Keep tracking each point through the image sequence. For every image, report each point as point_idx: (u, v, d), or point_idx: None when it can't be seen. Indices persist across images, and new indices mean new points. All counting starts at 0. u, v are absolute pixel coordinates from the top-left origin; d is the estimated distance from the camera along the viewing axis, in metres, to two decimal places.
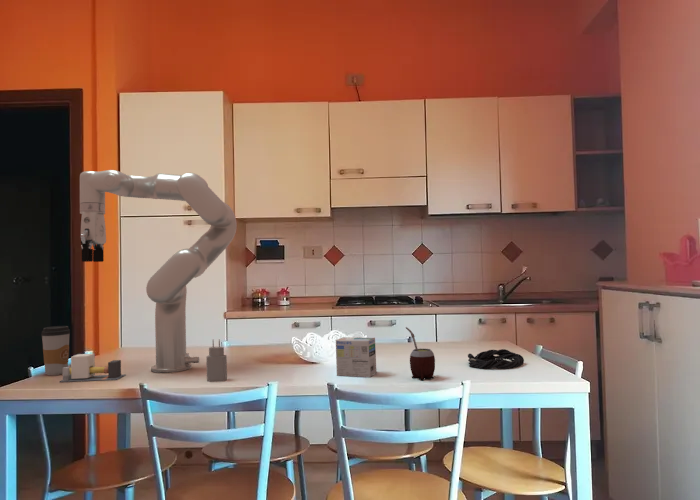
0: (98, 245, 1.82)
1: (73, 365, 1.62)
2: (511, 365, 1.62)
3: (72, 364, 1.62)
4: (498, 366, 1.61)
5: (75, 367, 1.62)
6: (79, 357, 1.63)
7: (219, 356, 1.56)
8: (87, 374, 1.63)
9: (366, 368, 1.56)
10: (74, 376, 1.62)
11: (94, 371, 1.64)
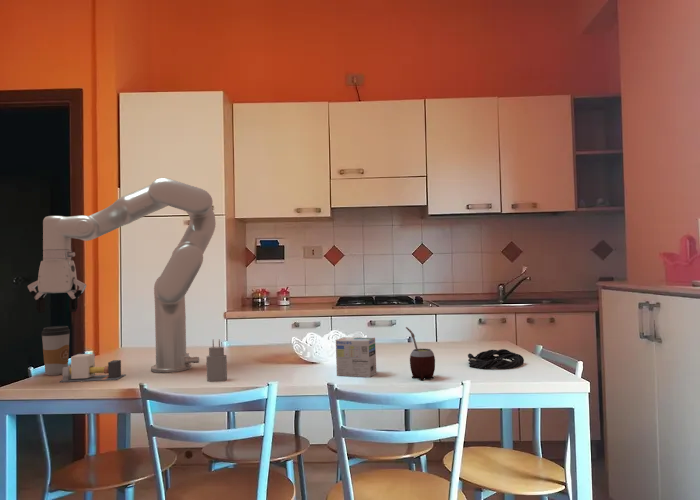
0: None
1: (73, 365, 1.62)
2: (511, 365, 1.62)
3: (72, 364, 1.62)
4: (498, 366, 1.61)
5: (75, 367, 1.62)
6: (79, 357, 1.63)
7: (219, 356, 1.56)
8: (87, 374, 1.63)
9: (366, 368, 1.56)
10: (74, 376, 1.62)
11: (94, 371, 1.64)
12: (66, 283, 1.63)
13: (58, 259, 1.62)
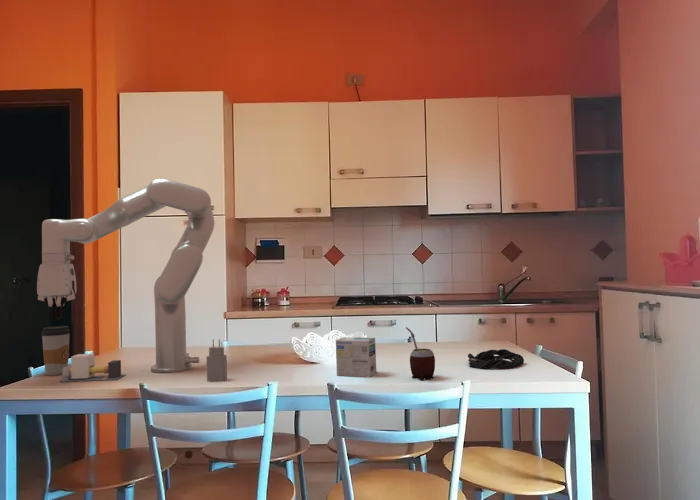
0: None
1: (73, 365, 1.62)
2: (511, 365, 1.62)
3: (72, 364, 1.62)
4: (498, 366, 1.61)
5: (75, 367, 1.62)
6: (79, 357, 1.63)
7: (219, 356, 1.56)
8: (87, 374, 1.63)
9: (366, 368, 1.56)
10: (74, 376, 1.62)
11: (94, 371, 1.64)
12: (65, 286, 1.63)
13: (57, 262, 1.62)
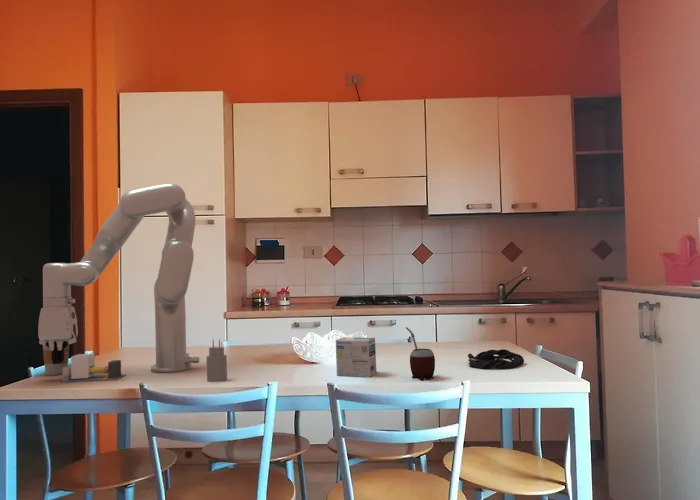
0: None
1: (73, 365, 1.62)
2: (511, 365, 1.62)
3: (72, 364, 1.62)
4: (498, 366, 1.61)
5: (75, 367, 1.62)
6: (79, 357, 1.63)
7: (219, 356, 1.56)
8: (87, 374, 1.63)
9: (366, 368, 1.56)
10: (74, 376, 1.62)
11: (94, 371, 1.64)
12: (67, 331, 1.63)
13: (58, 307, 1.62)
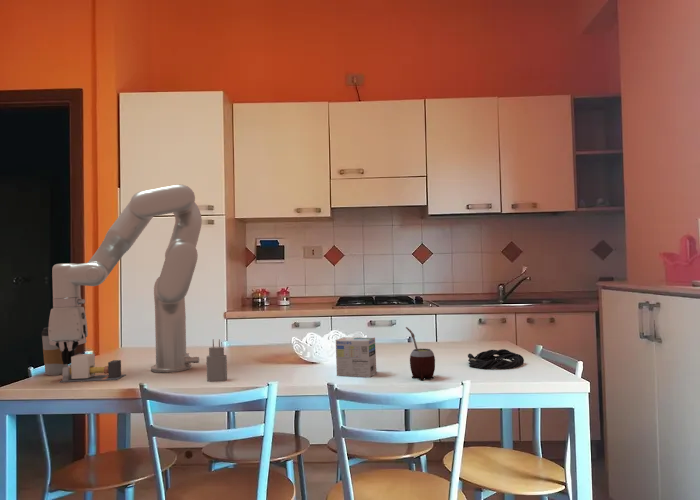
0: None
1: (73, 365, 1.62)
2: (511, 365, 1.62)
3: (72, 364, 1.62)
4: (498, 366, 1.61)
5: (75, 367, 1.62)
6: (79, 357, 1.63)
7: (219, 356, 1.56)
8: (87, 374, 1.63)
9: (366, 368, 1.56)
10: (74, 376, 1.62)
11: (94, 371, 1.64)
12: (77, 331, 1.63)
13: (68, 307, 1.62)
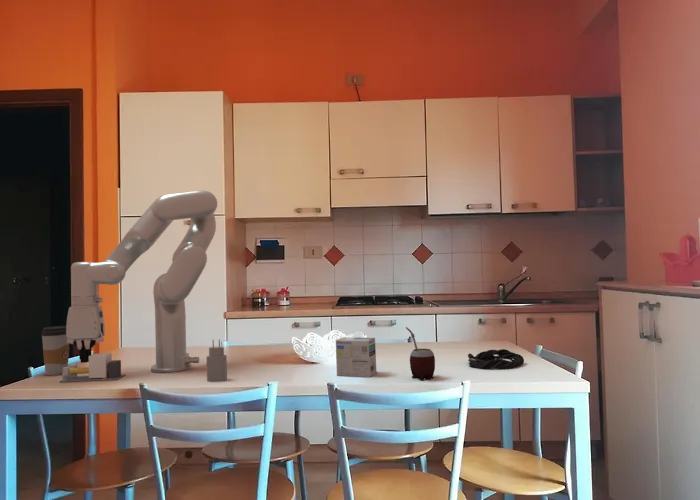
0: None
1: (91, 364, 1.63)
2: (511, 365, 1.62)
3: (90, 363, 1.63)
4: (498, 366, 1.61)
5: (92, 367, 1.63)
6: (97, 356, 1.63)
7: (219, 356, 1.56)
8: (104, 373, 1.63)
9: (366, 368, 1.56)
10: (92, 375, 1.63)
11: None
12: (95, 329, 1.63)
13: (87, 306, 1.62)
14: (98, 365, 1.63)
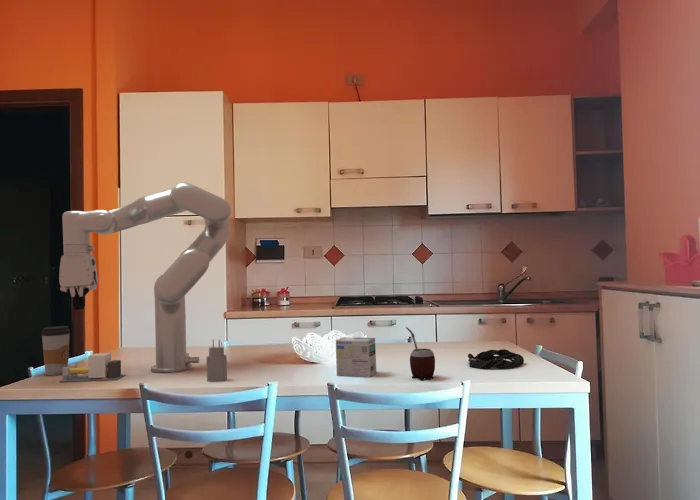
0: None
1: (90, 364, 1.63)
2: (511, 365, 1.62)
3: (89, 363, 1.63)
4: (498, 366, 1.61)
5: (92, 367, 1.63)
6: (96, 356, 1.63)
7: (219, 356, 1.56)
8: (104, 373, 1.63)
9: (366, 368, 1.56)
10: (91, 375, 1.63)
11: None
12: (87, 277, 1.66)
13: (79, 253, 1.65)
14: (97, 365, 1.63)
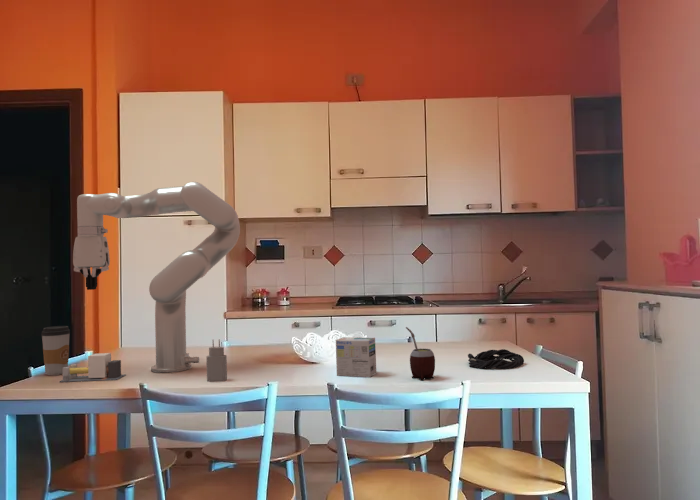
0: None
1: (90, 364, 1.63)
2: (511, 365, 1.62)
3: (89, 363, 1.63)
4: (498, 366, 1.61)
5: (92, 367, 1.63)
6: (96, 356, 1.63)
7: (219, 356, 1.56)
8: (104, 373, 1.63)
9: (366, 368, 1.56)
10: (91, 375, 1.63)
11: None
12: (100, 258, 1.72)
13: (92, 235, 1.71)
14: (97, 365, 1.63)
